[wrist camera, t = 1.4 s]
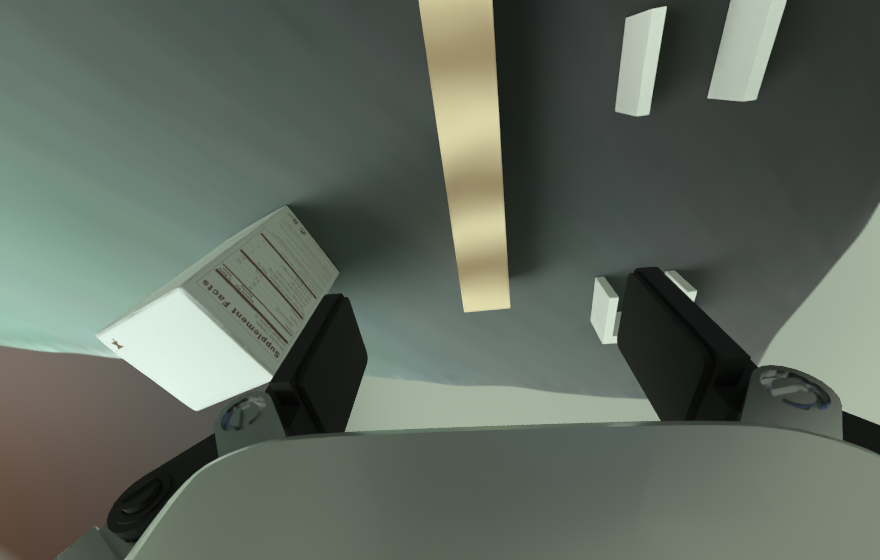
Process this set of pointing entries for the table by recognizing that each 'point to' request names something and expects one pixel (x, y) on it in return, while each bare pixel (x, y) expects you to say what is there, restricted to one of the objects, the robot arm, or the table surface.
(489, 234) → the slat
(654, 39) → the end cap
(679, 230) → the table surface
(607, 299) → the end cap
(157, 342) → the supplement box
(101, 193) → the table surface
